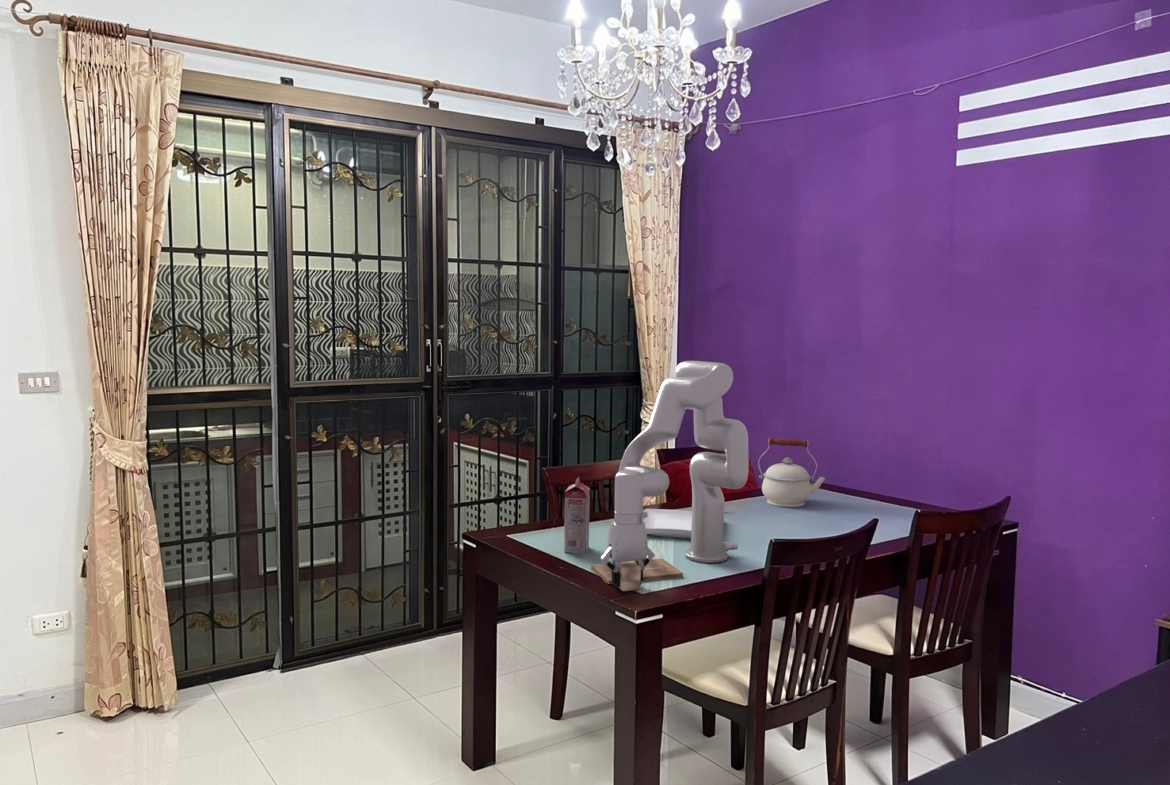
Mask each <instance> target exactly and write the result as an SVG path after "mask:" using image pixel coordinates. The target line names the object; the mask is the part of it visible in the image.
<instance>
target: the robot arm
mask: <svg viewBox="0 0 1170 785" xmlns="http://www.w3.org/2000/svg"><path fill="white" fill-rule="evenodd" d="M675 376H676V377H668V378H666V379H664V380H663V381H662V383H661V385H660V387H659V390H658V393H657V395H656V399H655V402H654V406H653V410H652V413H651V415H650V419H649V422H648V425H647V426H646V428H645V429H644V430H642V431H641V432H640V433H639V434H637V436H636V437H635V438H634V439H633V440H632V441H631V442H630V443H629V445H627V447H626V449H625V450H624V452H623V456H622V458H621V461H620V465H619V469H618V472H616V474H615V476H614V513H613V514H614V517H613V521H611V522H610V527H609V532H608V537H607V538H608V539H607V546H606V547H607V548H606V550H605V552H604V553H603V554H602V555H601V556H600V559H599V560H600V561H601V562H602V563H603V564H606V565H607V566H608V567H609V568H610V569H611V570H612V583H613V584H612V585H613V586H614V587H616V588H619V587H620V573H619V572H618V569H619V567H620V564H621V562H625V561H636V564H637V565H639V566H640V567H641V578H640V586H642V582H643V581H642V580H643V570H644V569H645V567H646V565H647V564H648V563H649V561H651V560H652V559H654V558H655V557H656V555H655V553H654V552H653V551H652V549H650V548H649V546H648V545H649V544H648V534H647V533H646V526H645V523H644V522H643V520H644V518H645V517H647V516H648V514H647V512H644V498H645V497H646V498H647V497H648V498H649V497H653V498H654V497H659V496H661V495H663V494H665V493H666V491H667V490H668V489H669V485H670V477H669V475H668V474H667V473H666V472H665V471H664V470H663V469H661V468H657V467H653V466H652V467H651V466H647V465H640V464H641V462H642V460H643V458H644V456H645V455H646V454H647V453H648V452H649V451H651V449H653V448H655V447H657V446H659V445H662V444H665V443H667V442H670V441H673V440H675V439H676V438H677V437H678V434H679V433H680V432H679V431H680V428H681V425H682V422H683V418H684V415H685V413H686V410H693V434H694V435H693V436H694V441H695V444H696V445H697V446H698V447H700V448H703V449H707V450H714V451H719V452H720V451H721V452H725V454H724V453H723V454H722V453H717V452H710V451H703V452H702V451H701V452H697V453H696V454H694V455H693V456H692V458H691V460H690V463H689V476H690V480H691V482H690V483H691V492H692V494H691V495H692V498H691V499H692V500H691V501H692V502H691V511H692V524H691V538H690V548H689V549H687V550H685V554H684V555H685V557H686V558H687V559H688V560H691V561H694V562H698V563H707V564H711V563H712V564H713V563H714V564H715V563H716V564H717V563H722V562H725V561H727V560H728V558H729V554H728V552H729V551H730V550H731V551H734V550H736V551H737V550H738V548H739V545H738V543H737V542H734V543H730V542H729V541H727V542H726V541H724V529H725V528H724V527H725V526H724V525H725V524H724V523H725V497H724V493H723V491H722V489H721V488H723V489H724V488H725V489H731V490H740V489H742V488H743V487H744V486H745V485H746V483H747V481H748V478H749V477H748V476H749V433H748V429H747V427H746V425H745V424H744V423H743V422H742V421H741V420H738V419H735V418H726V417H725V416H724V408H723V407H724V406H723V398H722V396H723V395H725V394H726V393H727V392H728V391H729V390H730V388H731V386H732V385H733V382H734V372H733V370H732V368H731V367H730V366H729V365H728V364H726V363H722V362H717V361H716V362H714V361H702V360H684V361H681V362H680V363H678V364H677V366H676V367H675ZM609 558H610V559H611V558H612V560H611V561H609Z"/></svg>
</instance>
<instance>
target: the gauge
mask: <svg viewBox="0 0 1170 785" xmlns="http://www.w3.org/2000/svg"><path fill="white" fill-rule="evenodd" d="M618 572H619V573H620V587H618V589H620V591H622V592H627V591H635V590H636V591H637V590H641V585H640V578H641V567H640V566H639V565H637V564H636V563H635V562H634V561H625V562H621V564H620V567H619V569H618Z"/></svg>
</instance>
